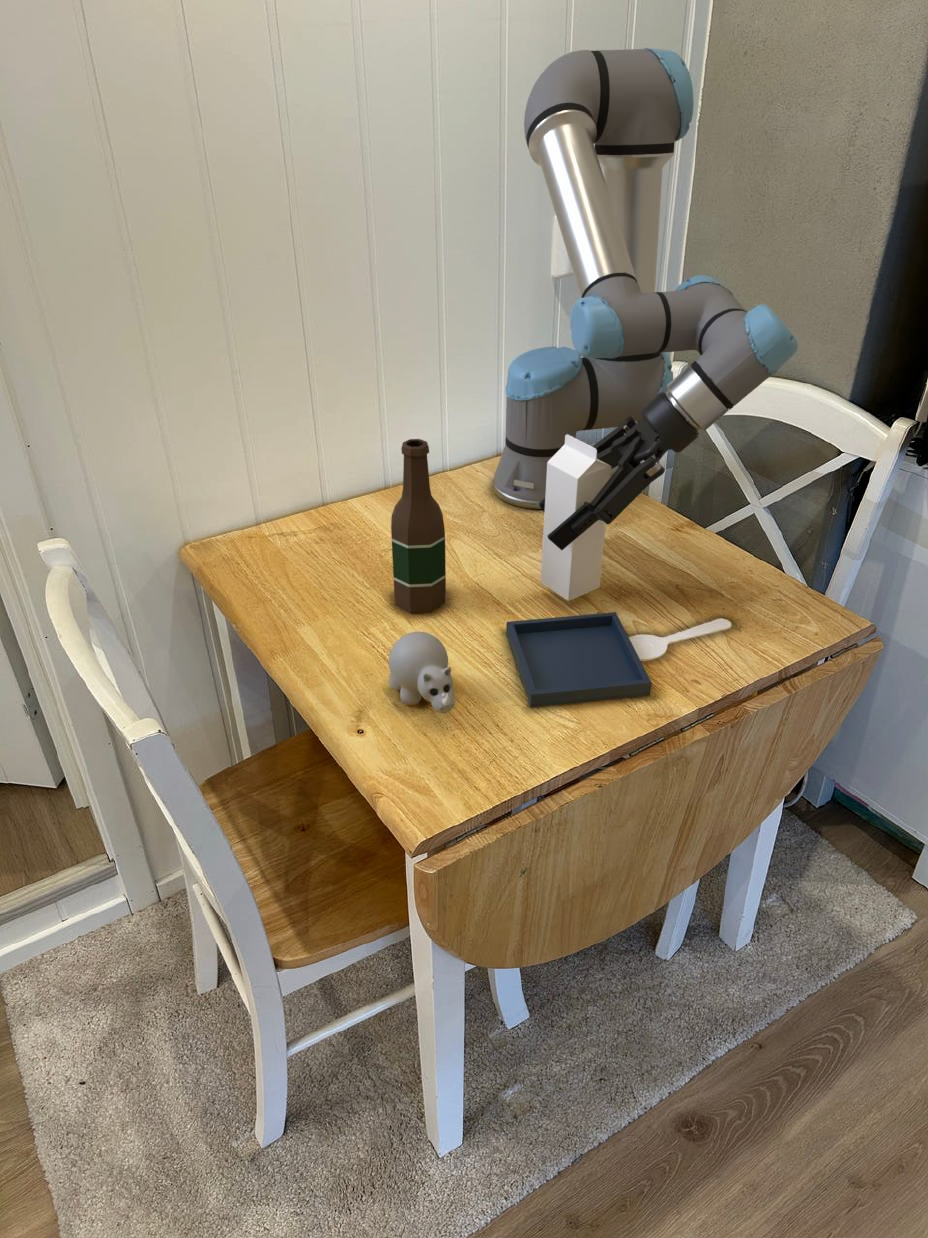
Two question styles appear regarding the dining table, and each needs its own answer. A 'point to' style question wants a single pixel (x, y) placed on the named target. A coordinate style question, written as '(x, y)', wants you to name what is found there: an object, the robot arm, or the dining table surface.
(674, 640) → the spoon
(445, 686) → the toy rhinoceros
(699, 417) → the robot arm
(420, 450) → the beer bottle
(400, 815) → the dining table surface
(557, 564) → the milk
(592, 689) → the tray
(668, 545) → the dining table surface
